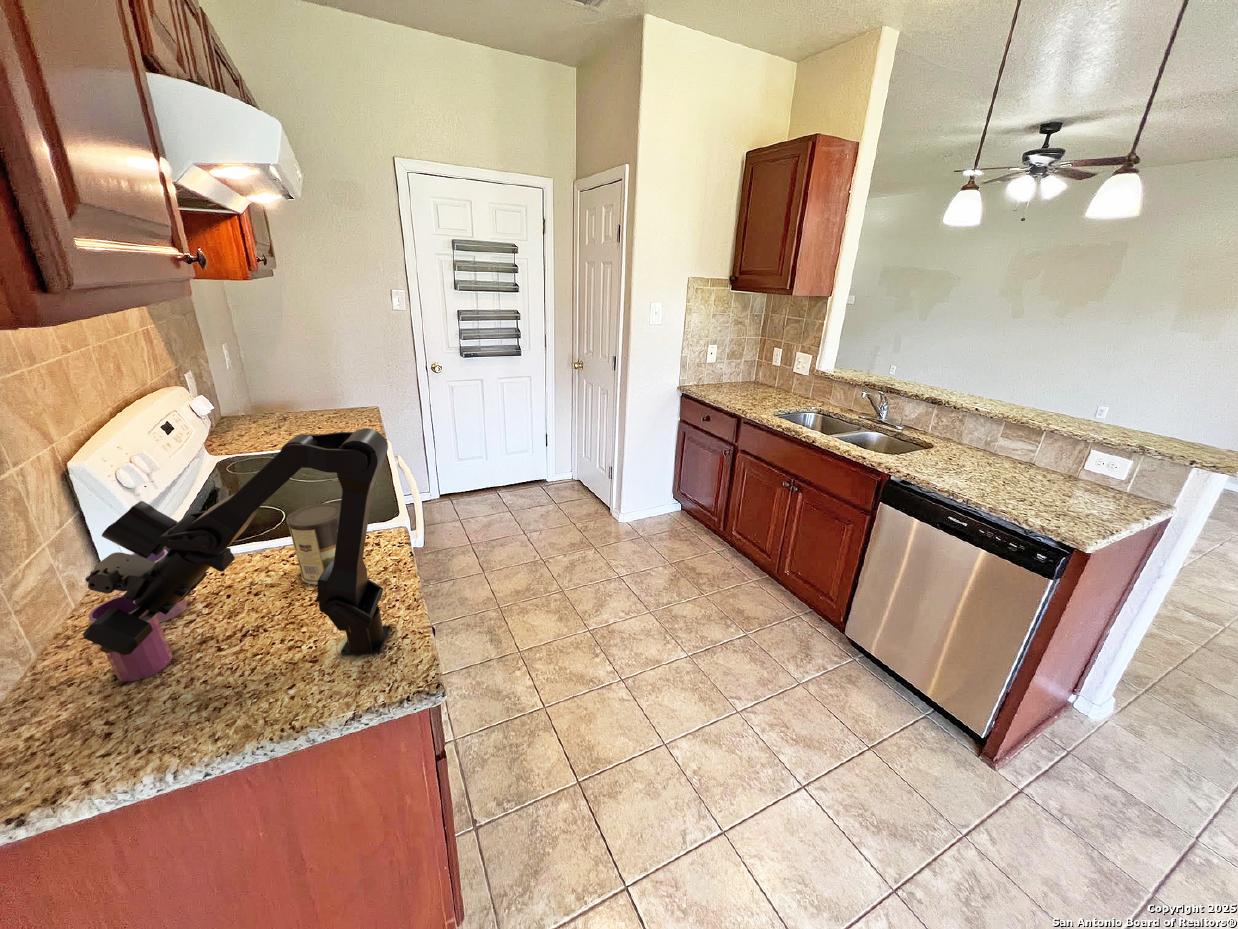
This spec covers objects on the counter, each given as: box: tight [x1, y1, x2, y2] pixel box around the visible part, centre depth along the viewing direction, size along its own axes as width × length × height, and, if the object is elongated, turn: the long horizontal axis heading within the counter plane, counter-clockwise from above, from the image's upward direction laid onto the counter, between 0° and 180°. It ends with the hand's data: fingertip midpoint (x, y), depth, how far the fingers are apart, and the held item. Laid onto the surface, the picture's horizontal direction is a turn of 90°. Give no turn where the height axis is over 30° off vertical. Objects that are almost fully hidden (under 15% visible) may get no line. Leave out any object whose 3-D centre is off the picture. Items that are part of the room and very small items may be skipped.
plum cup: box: [88, 594, 173, 683], centre depth 78 cm, size 7×7×12 cm
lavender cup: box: [130, 548, 188, 624], centre depth 91 cm, size 7×7×12 cm
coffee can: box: [285, 502, 341, 586], centre depth 104 cm, size 10×10×14 cm
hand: (121, 634), depth 78 cm, fingers closed on plum cup, 7 cm apart
